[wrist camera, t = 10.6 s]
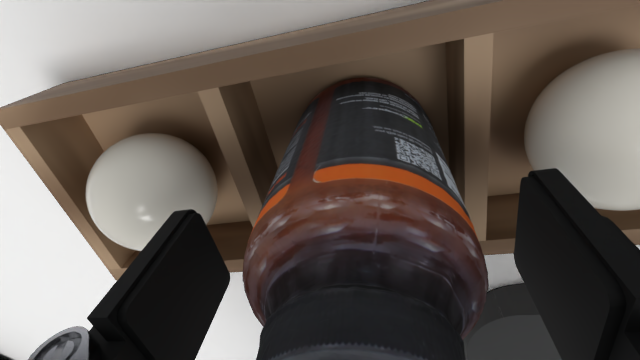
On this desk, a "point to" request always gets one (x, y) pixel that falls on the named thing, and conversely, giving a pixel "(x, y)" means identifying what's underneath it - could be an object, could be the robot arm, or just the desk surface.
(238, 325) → the desk surface
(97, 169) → the egg
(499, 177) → the holder
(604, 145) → the egg
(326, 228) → the supplement bottle
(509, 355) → the media streaming box
